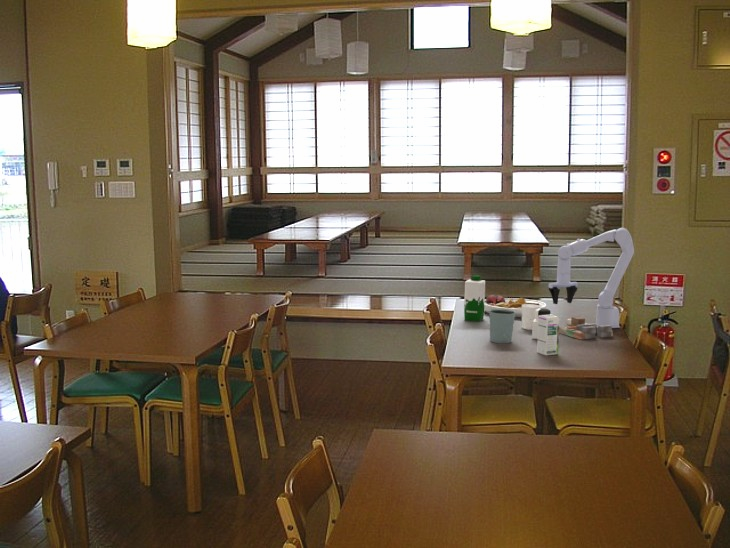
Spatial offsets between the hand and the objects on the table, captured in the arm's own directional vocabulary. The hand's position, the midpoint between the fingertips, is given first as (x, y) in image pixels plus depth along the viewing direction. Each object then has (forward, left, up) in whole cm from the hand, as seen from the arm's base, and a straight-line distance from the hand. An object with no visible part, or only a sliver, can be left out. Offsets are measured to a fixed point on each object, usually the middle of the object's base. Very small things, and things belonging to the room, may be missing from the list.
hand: (562, 303), depth 360 cm
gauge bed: (+4, +16, -9) cm, 19 cm away
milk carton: (+32, -22, -10) cm, 40 cm away
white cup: (+19, +3, -10) cm, 21 cm away
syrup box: (+41, +45, -10) cm, 62 cm away
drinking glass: (+45, +20, -10) cm, 50 cm away
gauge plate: (+7, +24, -9) cm, 27 cm away
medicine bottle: (+26, +21, -10) cm, 35 cm away
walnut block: (+4, +16, -10) cm, 19 cm away
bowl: (+4, -31, -10) cm, 33 cm away
